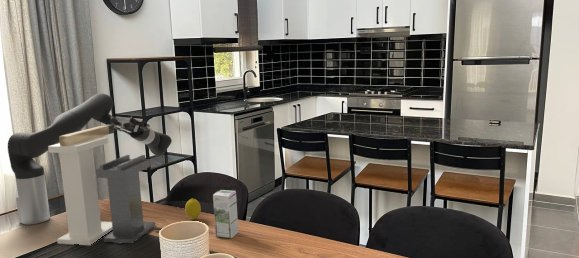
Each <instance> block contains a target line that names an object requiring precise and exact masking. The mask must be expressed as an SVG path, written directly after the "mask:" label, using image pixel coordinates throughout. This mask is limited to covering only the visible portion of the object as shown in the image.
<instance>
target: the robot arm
mask: <svg viewBox="0 0 579 258" xmlns="http://www.w3.org/2000/svg"><path fill="white" fill-rule="evenodd" d="M113 106H114V100H113V97H111V96H110V95H109V94H105V93H97V94H94V95H93V96H91V97H90V98H88V99H87V100H85V101H84V102H82V103H81V104H78V105H76V106H75V107H72V108H71V109H69V110H66V111H64V112H63V113H61V114H59V115H56V116H54V118H53V119H52V121H51V122H50V125H48V127H45V128H44V129H41V130H39V131H36V132H14V133H13V134H11V135H10V137H9V138H8V142H7V153H8V158H9V163H10V167H11V170H12V173H13V174H14V177H15V183H16V189H17V190H16V192H17V196H16V198H15V201H16V207H17V216H18V222H19V223H21V224H22V225H28V226H29V225H38V224H40V223H44V222H47V221H48V220H50V219H51V214H50V205H49V200H48V197H49V196H48V191H47V184H46V176H45V175H46V174H45V168H44V167H43V166H42V165H41V164H39V163H37V162H36V161H35V160H34V159H35V158H38V157H40V156H42V155H44V154H45V153H47V152H49V150H48V146H51V145H55V144H59V143H60V140H59V136H62V135H66V134H70V133H74V132H78V131H82V129H83V128H84V127H86V125H88V123H89V122H90V121H91V120H94V121H97V122H98V123H101V124H104V125H113V126H114V130H117V131H118V132H123V133H125V134H127V135H128V136H129V137H131V138H132V139H134V140H135V141H137V142H139V143H141V144H144V145H145V146H147V148H148V150H149V151H150V152H151V153H152V154H153V155H154V156H155V157H156V156H157V157H162V156H164V155H165V153H166V152H167V150H168V148H169V147H170V146H171V145H172V142H173V141H172V138H171V137H170V135H168V134H165V133H162V132H159V131H155V130H154V129H152V128H151V125H150V124H148V123H147V122H146V121H144V120H141V121H140V120H139V119H136V118H135V117H133V116H131V117H129V119H120V118H117V117H115V116H113V115H111V114H110V113H111V111H112V109H113Z"/></svg>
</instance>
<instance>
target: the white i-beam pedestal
mask: <svg viewBox="0 0 579 258" xmlns="http://www.w3.org/2000/svg"><path fill="white" fill-rule="evenodd" d="M107 144H109V137H108V136H101V137H98V138H94V139H91V140H87V141H84V142H80V143H77V144H73V145H70V146H60V142H58V143H57V144H55V145H51V146H48V153H49V154H50V153H52V154H53V153H54V154H55V153H57V154H59V164H60V172H61V180H62V181H61V182H62V187H63V196H64V197H63V198H64V204H65V212H66V221H67V229H68V232H67V233H65V234H64V235H62V236H61V237H60V236H59V238H57V239H56V241H57V244H58V245H74V244H79V245H80V246H92V245H94V244H95V243H97V242H98V241H99V240H98V239H100V238H101V237H102V236H104V235H105V234H107V233H108V232H110V231H111V230H113V228H112V221H102V220H101V212H100V203H99V202H100V201H99V194H98V184H97V175H96V167H95V165H96V164H95V157H94V148H96V147H97V148H98V147H100V146H103V145H107ZM110 233H111V232H110ZM107 235H108V234H107ZM104 237H105V236H104ZM101 239H102V238H101ZM101 239H100V240H101ZM97 240H98V241H97ZM96 241H97V242H96ZM94 242H95V243H94ZM93 243H94V244H93ZM91 244H92V245H91ZM79 245H78V246H79Z"/></svg>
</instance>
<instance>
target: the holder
mask: <svg viewBox="0 0 579 258" xmlns="http://www.w3.org/2000/svg"><path fill="white" fill-rule="evenodd" d="M150 167H151V160H150V158H149V159H147V158H146V154H141V155H139V156H137V157H135V158H130V154H125V155H122V156H120V157H118V158H115V159H112V160H109V161H108V162H105V163H102V164H100V165H99V168H98V169H95V174H96V179H106V181H107V189H108V190H107V191H108V198H109V200H108V201H109V209H110V217H111V218H110V219H111V222H112V228H113V231H112V232H110V233H109V234H107V235H106V236H104V237H103V238H102V239H103V243H104V242H122V243H132V242H134V241H135V240H136V239H138V238H139V237H140V236H142V235H143V234H145V233H146V234H147V233H149V232H150V231H151V230H154V227H157V226H156V222H155V221H144V215H143V205H142V203H143V202H142V195H141V194H142V193H141V182H140V172H141V171H144V170H147V169H148V168H150ZM146 234H145V235H146ZM143 236H144V235H143ZM143 236H142V237H143ZM139 239H140V238H139ZM139 239H138V240H139ZM134 243H135V242H134Z"/></svg>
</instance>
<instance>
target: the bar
mask: <svg viewBox="0 0 579 258" xmlns="http://www.w3.org/2000/svg"><path fill="white" fill-rule="evenodd" d="M112 134H115V128H114V126H113V125H106V124H104V125H99V126H94V127H92V128H87V129H83V130H79V131H78V132H74V133H70V134H66V135H62V136H59V140H60V142H59V143H60V146H70V145H73V144H77V143H80V142H84V141H87V140H91V139H94V138H98V137H106V136H108V135H112Z"/></svg>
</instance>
